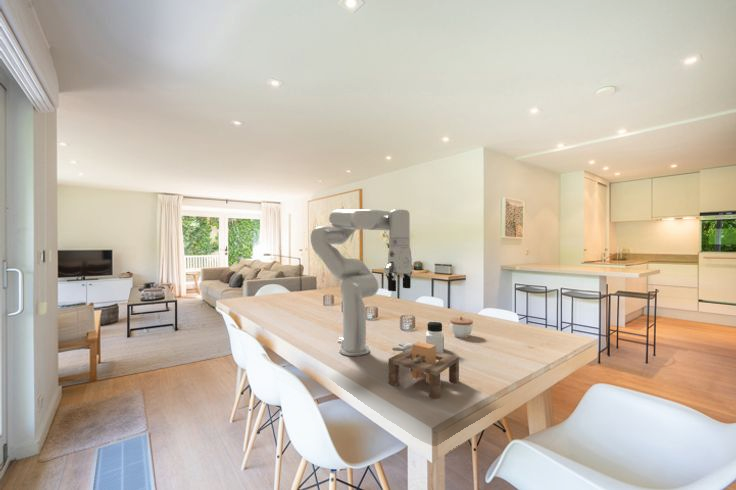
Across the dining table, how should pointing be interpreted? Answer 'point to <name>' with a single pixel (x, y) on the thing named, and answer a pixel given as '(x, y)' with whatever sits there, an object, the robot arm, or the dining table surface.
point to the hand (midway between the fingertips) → (399, 289)
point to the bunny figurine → (404, 348)
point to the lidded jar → (461, 327)
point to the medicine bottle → (435, 336)
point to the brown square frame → (425, 369)
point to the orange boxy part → (427, 352)
